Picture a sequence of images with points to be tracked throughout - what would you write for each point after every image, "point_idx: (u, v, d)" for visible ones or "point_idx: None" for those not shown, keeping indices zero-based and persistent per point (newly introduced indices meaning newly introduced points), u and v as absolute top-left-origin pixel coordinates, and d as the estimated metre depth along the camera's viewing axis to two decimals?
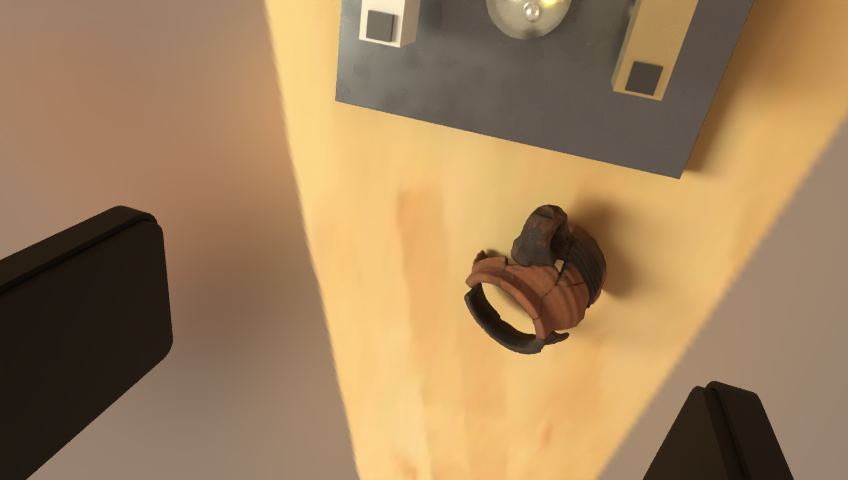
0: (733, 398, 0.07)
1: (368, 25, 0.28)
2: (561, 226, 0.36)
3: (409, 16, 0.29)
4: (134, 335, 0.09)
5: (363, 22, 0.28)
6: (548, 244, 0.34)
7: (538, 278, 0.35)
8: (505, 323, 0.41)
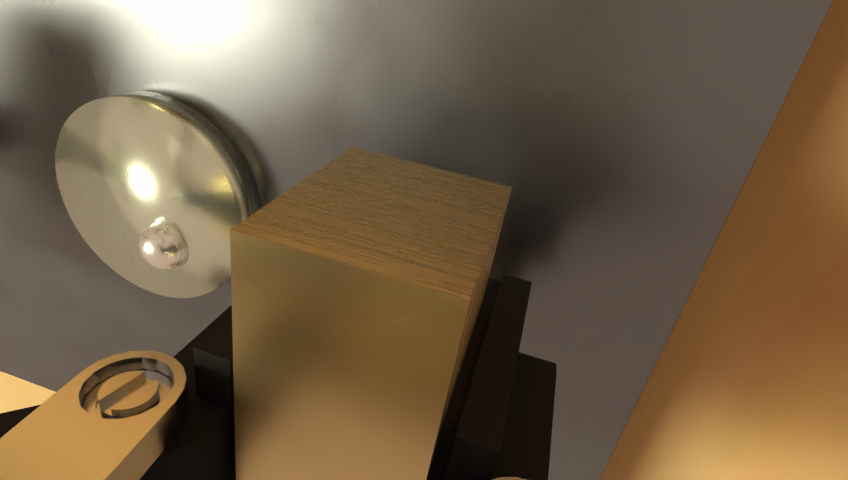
0: (508, 283, 0.09)
1: None
2: None
3: None
4: None
5: None
6: None
7: None
8: None
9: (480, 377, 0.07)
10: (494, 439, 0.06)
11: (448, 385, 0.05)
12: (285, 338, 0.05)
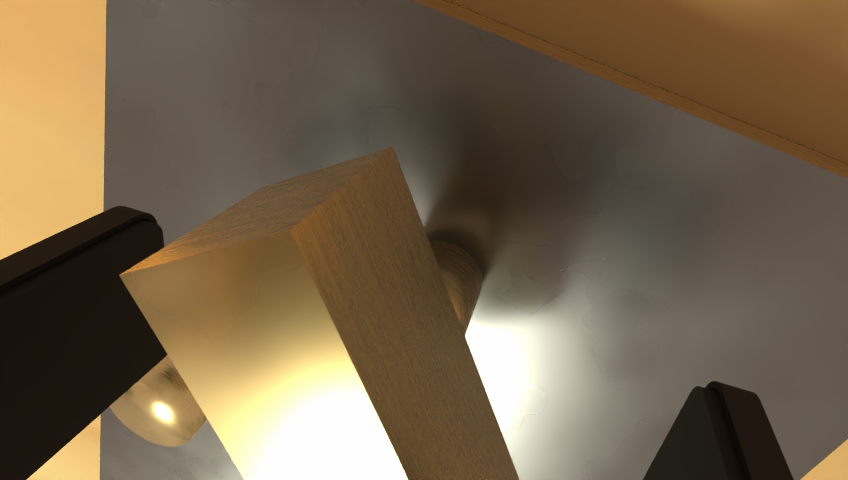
0: (733, 398, 0.07)
1: None
2: None
3: None
4: (134, 335, 0.09)
5: None
6: None
7: None
8: None
9: None
10: None
11: (333, 321, 0.05)
12: (206, 348, 0.06)
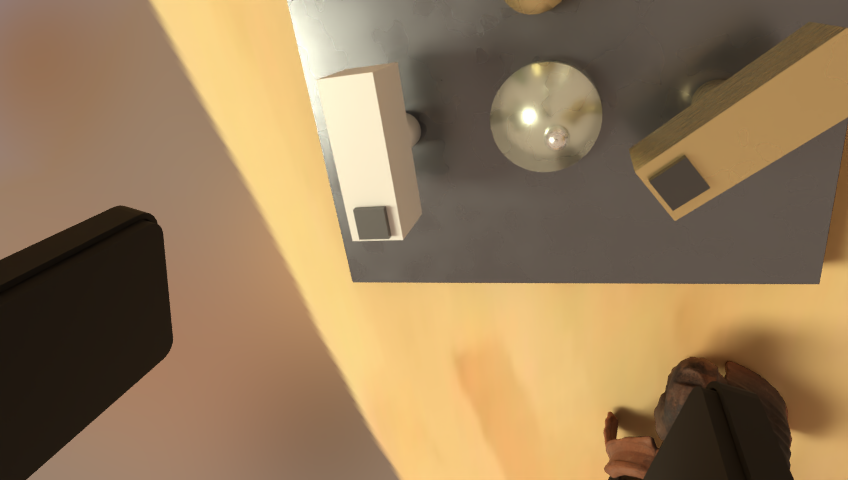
0: (733, 398, 0.07)
1: (358, 225, 0.22)
2: None
3: (405, 197, 0.23)
4: (134, 335, 0.09)
5: (351, 222, 0.23)
6: None
7: None
8: None
9: None
10: None
11: None
12: (819, 70, 0.16)
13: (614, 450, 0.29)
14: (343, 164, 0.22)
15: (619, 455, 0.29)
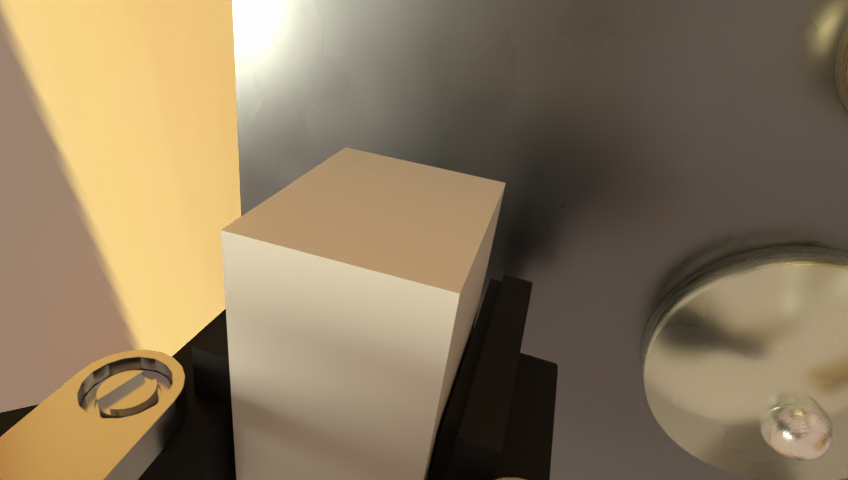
0: (509, 283, 0.09)
1: None
2: None
3: None
4: None
5: None
6: None
7: None
8: None
9: (481, 377, 0.07)
10: (494, 439, 0.06)
11: None
12: None
13: None
14: (260, 478, 0.07)
15: None
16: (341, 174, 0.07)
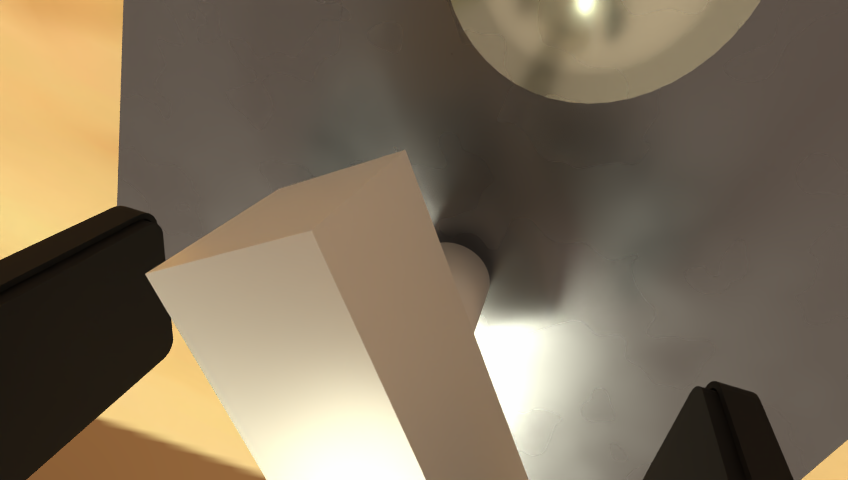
0: (733, 398, 0.07)
1: None
2: None
3: None
4: (134, 335, 0.09)
5: None
6: None
7: None
8: None
9: None
10: None
11: None
12: None
13: None
14: None
15: None
16: (263, 205, 0.08)
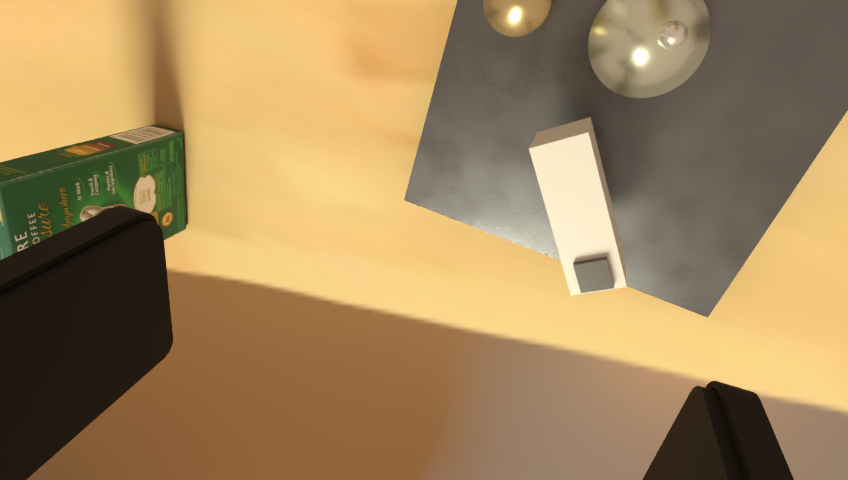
0: (733, 398, 0.07)
1: (579, 280, 0.23)
2: None
3: (618, 244, 0.23)
4: (134, 335, 0.09)
5: (569, 277, 0.23)
6: None
7: None
8: None
9: None
10: None
11: None
12: None
13: None
14: (559, 223, 0.22)
15: None
16: (543, 134, 0.23)
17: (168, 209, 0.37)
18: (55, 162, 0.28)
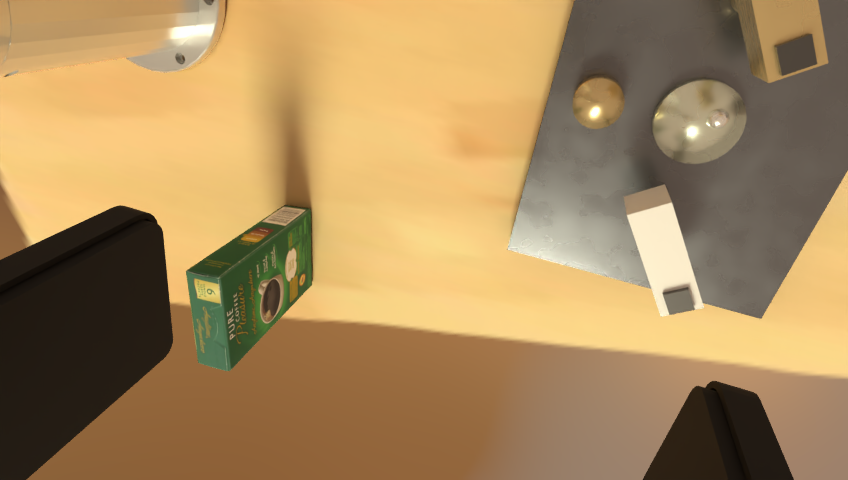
0: (733, 398, 0.07)
1: (668, 305, 0.31)
2: None
3: None
4: (134, 335, 0.09)
5: (659, 303, 0.31)
6: None
7: None
8: None
9: None
10: None
11: None
12: None
13: None
14: (650, 265, 0.30)
15: None
16: (631, 200, 0.31)
17: (302, 271, 0.45)
18: (243, 251, 0.37)
